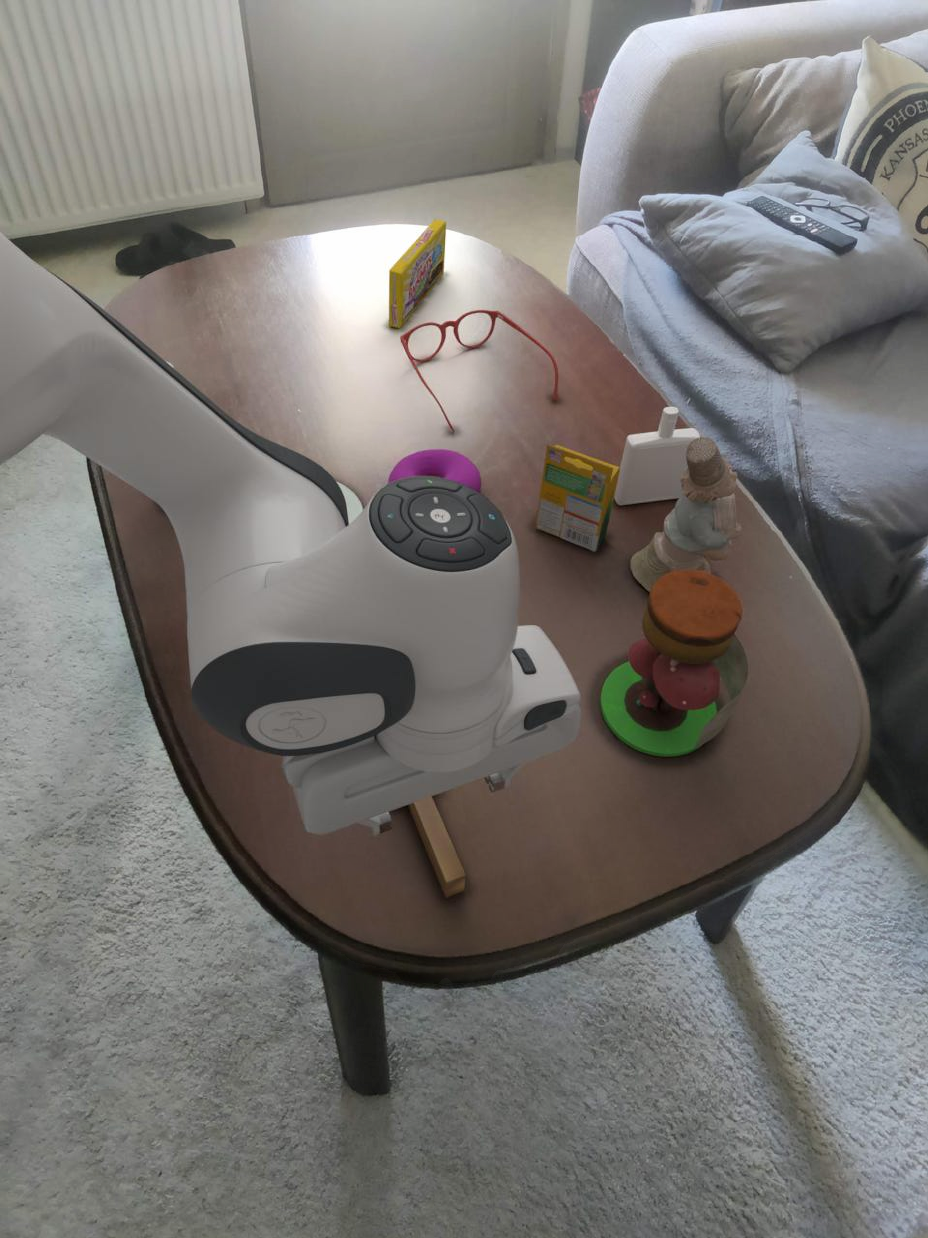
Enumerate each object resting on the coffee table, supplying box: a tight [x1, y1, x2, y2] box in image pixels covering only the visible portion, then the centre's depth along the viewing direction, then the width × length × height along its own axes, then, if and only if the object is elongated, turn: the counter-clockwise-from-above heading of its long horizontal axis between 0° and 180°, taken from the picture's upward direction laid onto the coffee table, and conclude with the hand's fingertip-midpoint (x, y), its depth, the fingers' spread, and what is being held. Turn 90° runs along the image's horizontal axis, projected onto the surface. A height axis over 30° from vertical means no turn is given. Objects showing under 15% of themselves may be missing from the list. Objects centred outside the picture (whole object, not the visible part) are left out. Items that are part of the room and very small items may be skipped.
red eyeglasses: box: [399, 309, 559, 433], centre depth 110 cm, size 17×16×5 cm
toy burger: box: [599, 569, 749, 758], centre depth 74 cm, size 12×13×15 cm
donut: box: [387, 448, 482, 494], centre depth 95 cm, size 10×10×5 cm
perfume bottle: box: [614, 406, 701, 506], centre depth 94 cm, size 8×2×12 cm, turn 102°
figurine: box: [630, 436, 742, 593], centre depth 83 cm, size 9×8×20 cm
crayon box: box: [535, 444, 620, 553], centre depth 90 cm, size 7×3×12 cm, turn 61°
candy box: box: [388, 218, 447, 329], centre depth 121 cm, size 16×2×8 cm, turn 159°
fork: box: [407, 796, 466, 898], centre depth 72 cm, size 4×18×3 cm, turn 23°
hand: (439, 803), depth 65 cm, fingers open, 8 cm apart
